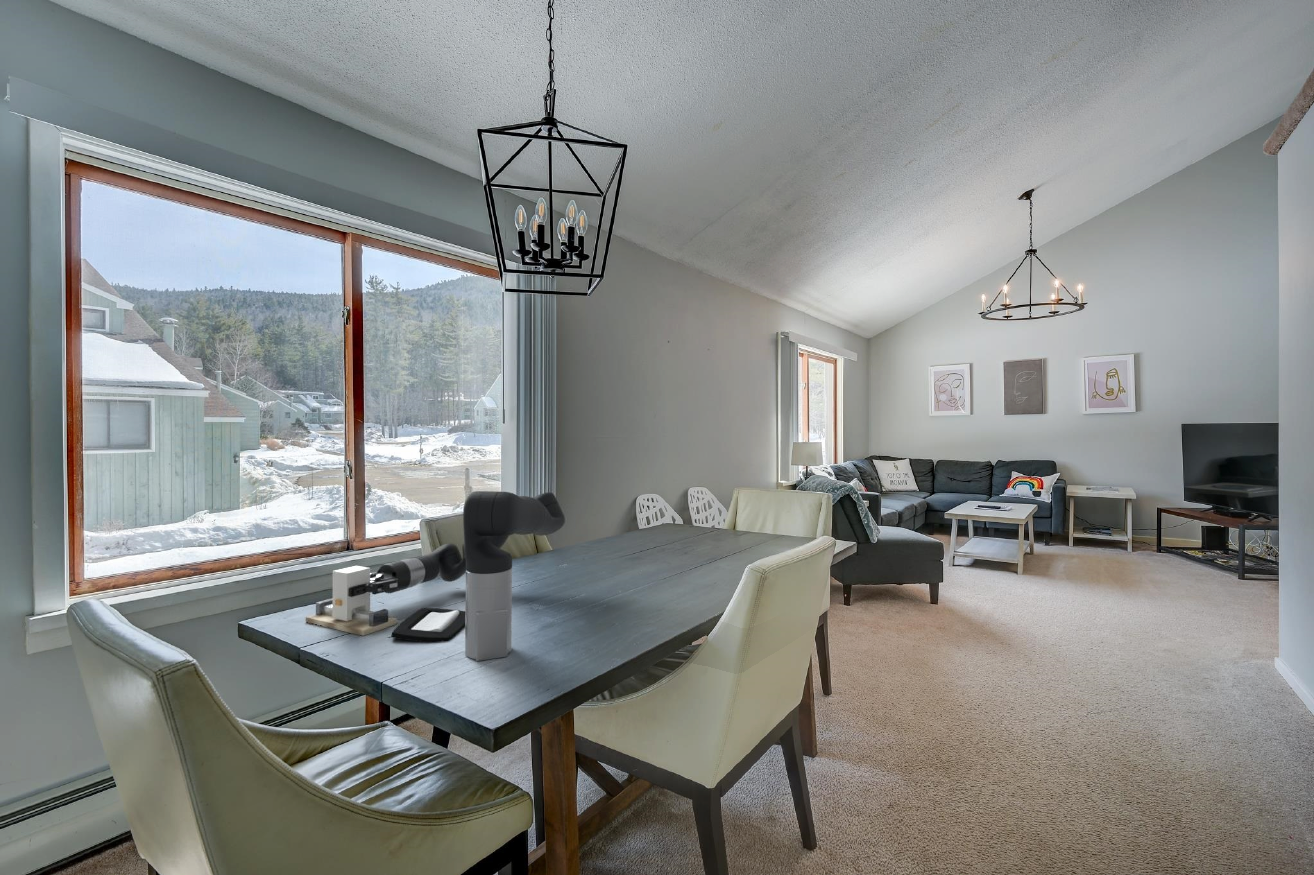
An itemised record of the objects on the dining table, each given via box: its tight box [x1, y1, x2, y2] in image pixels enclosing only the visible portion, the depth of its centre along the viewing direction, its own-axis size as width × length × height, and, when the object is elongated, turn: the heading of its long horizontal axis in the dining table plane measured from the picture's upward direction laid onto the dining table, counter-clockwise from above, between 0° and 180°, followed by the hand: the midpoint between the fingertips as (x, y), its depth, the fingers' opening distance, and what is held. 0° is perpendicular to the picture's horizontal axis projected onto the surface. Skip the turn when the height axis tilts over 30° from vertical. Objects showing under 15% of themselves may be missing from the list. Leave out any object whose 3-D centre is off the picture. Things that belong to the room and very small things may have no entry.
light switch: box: [390, 607, 466, 643], centre depth 134 cm, size 20×3×14 cm
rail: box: [315, 597, 389, 627], centre depth 136 cm, size 20×4×3 cm, turn 65°
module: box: [332, 565, 371, 621], centre depth 136 cm, size 5×7×11 cm
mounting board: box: [305, 613, 398, 637], centre depth 136 cm, size 20×9×1 cm, turn 65°
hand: (341, 591), depth 134 cm, fingers closed on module, 5 cm apart
